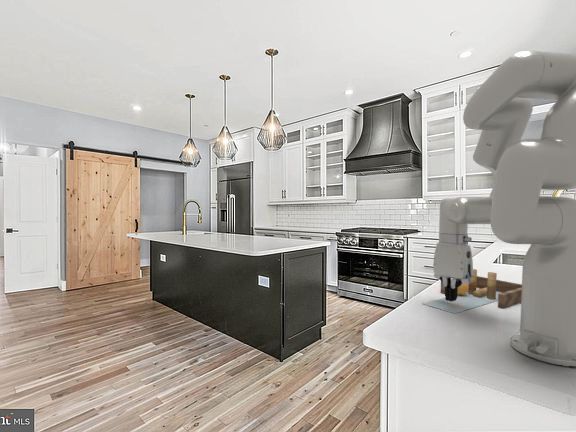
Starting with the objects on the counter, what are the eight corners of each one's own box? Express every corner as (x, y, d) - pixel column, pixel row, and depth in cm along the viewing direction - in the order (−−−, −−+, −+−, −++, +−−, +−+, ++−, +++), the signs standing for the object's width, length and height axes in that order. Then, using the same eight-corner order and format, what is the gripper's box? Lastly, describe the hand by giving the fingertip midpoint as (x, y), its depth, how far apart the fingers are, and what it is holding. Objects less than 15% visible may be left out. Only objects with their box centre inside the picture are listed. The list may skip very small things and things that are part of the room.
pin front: (479, 290, 102) (491, 287, 107) (471, 290, 104) (483, 287, 109) (481, 298, 102) (492, 294, 106) (473, 298, 103) (485, 294, 108)
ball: (476, 289, 104) (467, 281, 101) (462, 301, 105) (453, 294, 102) (463, 278, 109) (454, 270, 106) (450, 290, 110) (441, 282, 108)
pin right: (493, 300, 100) (494, 274, 100) (485, 298, 102) (486, 272, 102) (497, 299, 101) (498, 273, 101) (489, 297, 103) (490, 271, 103)
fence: (503, 308, 92) (503, 295, 92) (440, 292, 108) (440, 281, 108) (532, 298, 103) (533, 286, 102) (471, 285, 119) (471, 275, 119)
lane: (454, 313, 86) (454, 313, 86) (422, 304, 95) (422, 303, 95) (514, 295, 106) (514, 295, 106) (482, 288, 114) (482, 288, 114)
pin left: (473, 295, 105) (474, 270, 105) (466, 294, 107) (467, 269, 107) (477, 294, 106) (478, 269, 106) (470, 293, 108) (471, 268, 108)
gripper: (485, 241, 89) (483, 305, 90) (436, 236, 102) (435, 292, 103) (471, 242, 85) (469, 309, 86) (422, 237, 98) (421, 295, 99)
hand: (450, 300), depth 94 cm, fingers closed
